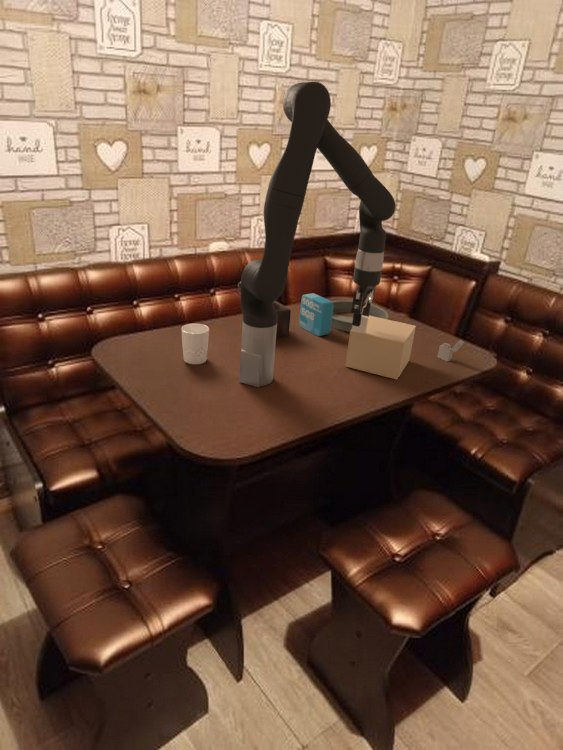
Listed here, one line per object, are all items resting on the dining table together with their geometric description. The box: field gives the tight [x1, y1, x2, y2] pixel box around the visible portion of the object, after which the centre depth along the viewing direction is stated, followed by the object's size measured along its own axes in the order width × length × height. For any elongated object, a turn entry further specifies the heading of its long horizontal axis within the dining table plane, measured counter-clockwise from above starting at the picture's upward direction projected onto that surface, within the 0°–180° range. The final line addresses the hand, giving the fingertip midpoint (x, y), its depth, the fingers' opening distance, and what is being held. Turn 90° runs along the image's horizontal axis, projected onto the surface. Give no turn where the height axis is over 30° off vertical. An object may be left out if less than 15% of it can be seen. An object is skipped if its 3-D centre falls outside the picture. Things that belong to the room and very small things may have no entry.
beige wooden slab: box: [344, 315, 404, 380], centre depth 157 cm, size 1×16×17 cm, turn 65°
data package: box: [298, 292, 333, 337], centre depth 186 cm, size 12×4×12 cm, turn 37°
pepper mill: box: [237, 280, 292, 339], centre depth 178 cm, size 16×11×18 cm
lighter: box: [437, 339, 465, 362], centre depth 172 cm, size 7×2×8 cm, turn 43°
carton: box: [351, 315, 417, 380], centre depth 165 cm, size 15×16×12 cm
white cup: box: [181, 323, 210, 365], centre depth 158 cm, size 8×8×10 cm
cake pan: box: [331, 300, 390, 333], centre depth 198 cm, size 25×25×4 cm
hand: (360, 321), depth 156 cm, fingers open, 8 cm apart
